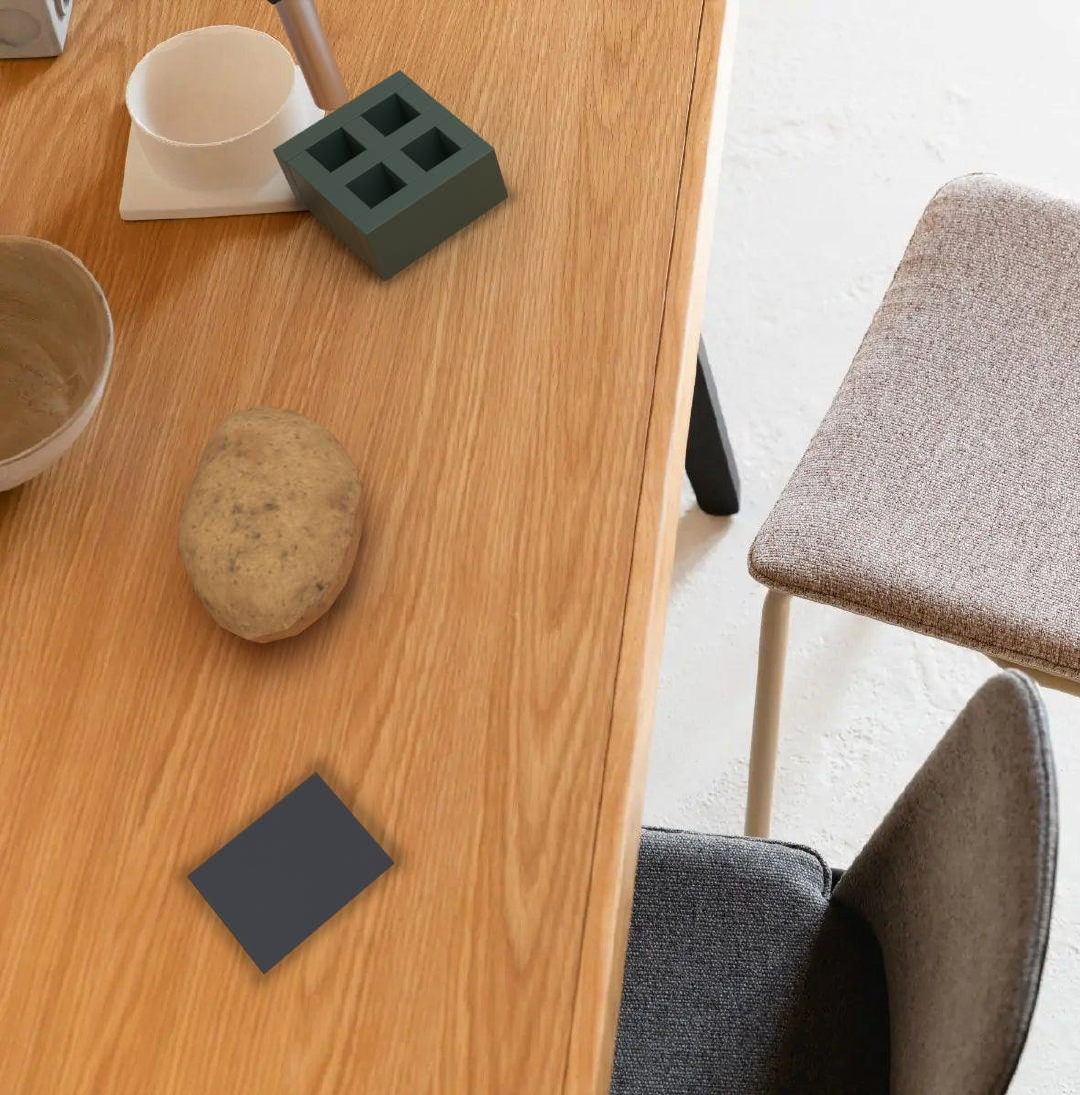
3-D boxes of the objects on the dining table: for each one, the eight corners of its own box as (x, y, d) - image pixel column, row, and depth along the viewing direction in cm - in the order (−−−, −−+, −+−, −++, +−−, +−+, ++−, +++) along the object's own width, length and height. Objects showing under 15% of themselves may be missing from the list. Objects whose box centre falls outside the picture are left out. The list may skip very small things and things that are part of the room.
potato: (200, 686, 81) (138, 621, 74) (222, 472, 87) (167, 394, 80) (378, 666, 81) (334, 600, 74) (386, 455, 88) (346, 376, 81)
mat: (190, 879, 75) (186, 876, 75) (319, 775, 78) (315, 771, 77) (268, 977, 73) (263, 974, 72) (397, 866, 75) (394, 862, 75)
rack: (297, 203, 98) (272, 149, 93) (419, 125, 101) (399, 69, 97) (387, 287, 94) (365, 234, 90) (510, 202, 98) (494, 148, 93)
